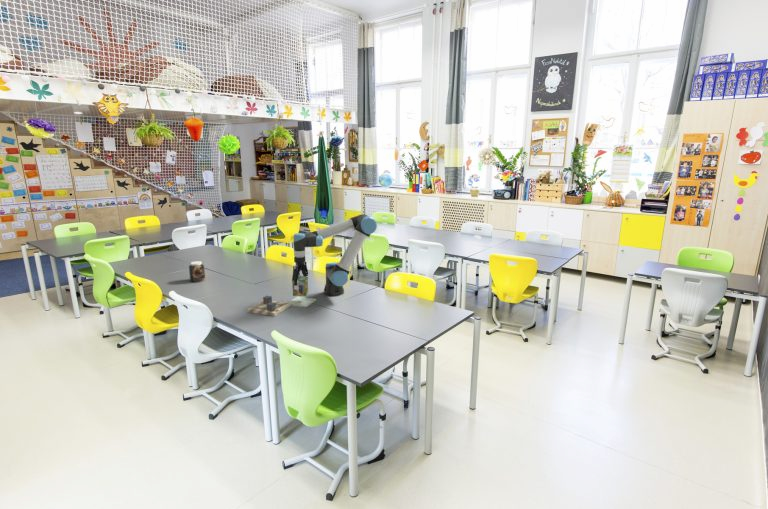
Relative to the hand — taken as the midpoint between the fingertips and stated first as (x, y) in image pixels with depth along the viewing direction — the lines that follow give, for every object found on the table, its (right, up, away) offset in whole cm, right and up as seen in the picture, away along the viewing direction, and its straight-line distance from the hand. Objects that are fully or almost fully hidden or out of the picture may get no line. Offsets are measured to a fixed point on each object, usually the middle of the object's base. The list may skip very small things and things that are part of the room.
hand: (300, 287), depth 281 cm
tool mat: (0, -11, +3) cm, 11 cm away
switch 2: (-15, -13, -18) cm, 27 cm away
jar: (-94, +1, +50) cm, 107 cm away
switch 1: (-21, -10, -5) cm, 24 cm away
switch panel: (-18, -14, -10) cm, 25 cm away
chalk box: (0, -5, +1) cm, 5 cm away
